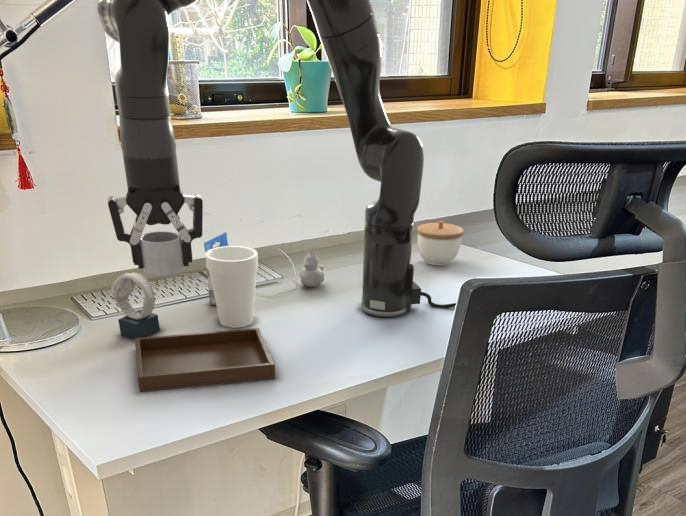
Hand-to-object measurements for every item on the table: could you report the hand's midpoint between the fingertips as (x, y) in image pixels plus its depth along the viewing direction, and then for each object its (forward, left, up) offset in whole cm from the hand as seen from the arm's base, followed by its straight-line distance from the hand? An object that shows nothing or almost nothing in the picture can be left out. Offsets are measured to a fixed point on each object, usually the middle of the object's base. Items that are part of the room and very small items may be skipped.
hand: (163, 265), depth 111 cm
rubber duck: (-31, -33, -17) cm, 48 cm away
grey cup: (0, 0, -1) cm, 1 cm away
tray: (-4, +2, -16) cm, 17 cm away
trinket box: (-65, -43, -17) cm, 79 cm away
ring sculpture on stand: (+5, -14, -17) cm, 22 cm away
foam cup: (-13, -16, -17) cm, 26 cm away
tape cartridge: (-13, -28, -17) cm, 35 cm away
